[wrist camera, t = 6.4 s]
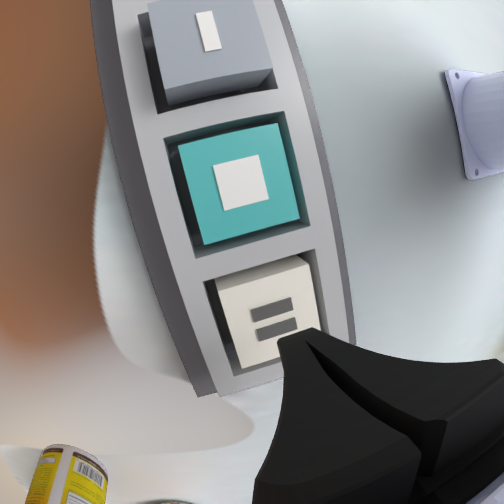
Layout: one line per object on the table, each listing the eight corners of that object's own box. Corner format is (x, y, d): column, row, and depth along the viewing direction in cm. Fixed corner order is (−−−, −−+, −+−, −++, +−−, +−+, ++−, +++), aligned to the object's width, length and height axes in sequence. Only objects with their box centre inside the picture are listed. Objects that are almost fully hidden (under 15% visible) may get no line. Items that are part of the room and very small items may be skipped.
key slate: (237, 14, 12) (248, -15, 9) (258, 86, 13) (274, 67, 10) (152, 30, 11) (146, 2, 9) (168, 105, 12) (164, 88, 10)
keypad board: (247, -74, 12) (257, -102, 9) (351, 340, 19) (375, 363, 16) (89, -45, 10) (79, -72, 7) (197, 391, 18) (200, 424, 15)
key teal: (262, 131, 14) (278, 122, 12) (281, 212, 15) (300, 218, 13) (179, 151, 14) (177, 145, 11) (201, 234, 15) (204, 245, 12)
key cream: (290, 250, 16) (309, 264, 13) (304, 319, 17) (323, 342, 14) (212, 273, 15) (218, 292, 13) (233, 342, 16) (242, 369, 14)
